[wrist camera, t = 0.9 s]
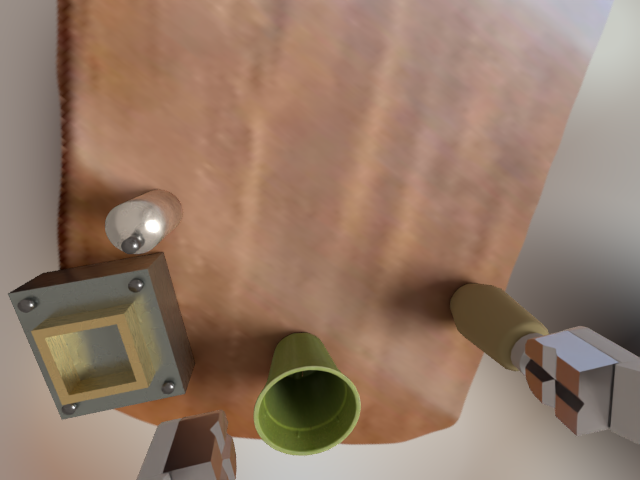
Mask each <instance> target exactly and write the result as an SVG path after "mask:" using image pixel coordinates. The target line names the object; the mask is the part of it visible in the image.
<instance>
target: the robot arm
mask: <svg viewBox="0 0 640 480" xmlns="http://www.w3.org/2000/svg"><path fill="white" fill-rule="evenodd" d="M525 354H526V355H527V356H528V357H529V358H530V360H529V362H528V364H527V365H526V367H525V374H526V380H527V383H528V385H529V388H530V390H531V391H532V393H533V394H534V396H535V397H536V398H537V399H538V400H539V401H540V402H541V403H543V404H545V405H548V406H550V407H552V408H554V410H555V416H556V417H557V418H558V419H559V420H560V421H561V422H562V423H563V424H564V425H566V427H567V428H569V429H570V430H571V431H572V432H573V433H574V434H575V435H576V436H580V435H584V434H589V433H593V432H598V431H602V430H607V429H610V431H612V432H614V433H616V434H618V435H620V436H622V437H624V438H627V439H628V440H631V441H633V442H635V443H637V444H639V445H640V358H639V357H637V356H636V355H634V354H632V353H631V352H629V351H627V350H625V349H624V348H622V347H620V346H618V345H617V344H615V343H613V342H611V341H610V340H608V339H606V338H604V337H602V336H601V335H599V334H598V333H596V332H594V331H592V330H591V329H589V328H587V327H582V326H579V327H574V328H571V329H567V330H563V331H561V332H557V333H553V334H549V335H544V336H540V337H536V338H532V339H528V340H527V342H526V344H525ZM227 426H228V421H227V418H226V415H225V412H224V411H223V410H217V411H213V412H208V413H203V414H198V415H193V416H188V417H184V418H182V419H181V418H180V419H175V420H171V421H166V422H162V423H161V424H160V425H159V426H158V427H157V429H156V432H155V434H154V437H153V440H152V442H151V445H150V447H149V449H148V452H147V454H146V457H145V459H144V462H143V465H142V467H141V470H140V472H139V475H138V477H137V480H235V479H236V453H235V447H234V442H233V439H232V437H231V436H230V435H228V434H227Z"/></svg>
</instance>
